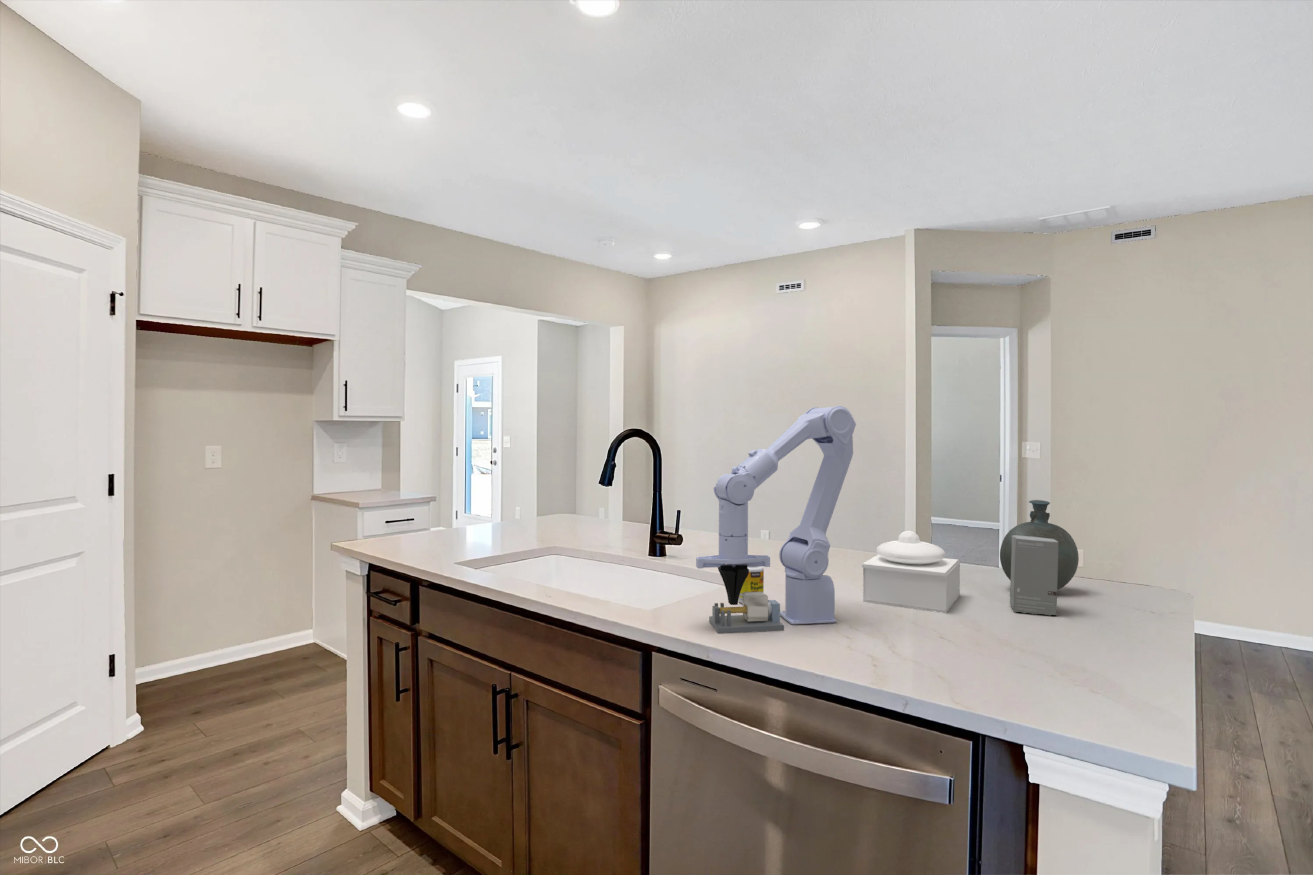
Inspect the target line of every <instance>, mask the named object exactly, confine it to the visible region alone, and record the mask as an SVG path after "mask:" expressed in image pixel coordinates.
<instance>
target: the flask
mask: <svg viewBox="0 0 1313 875" xmlns="http://www.w3.org/2000/svg"><path fill="white" fill-rule="evenodd" d="M1028 503H1029V504H1032V505H1031V506H1032V509H1033V510H1031V511H1030V513H1029V517H1030V521H1027V522H1023V523H1019V524H1017V525H1015V526H1014V527H1013V528H1011V529H1010V530H1009V531H1008V532H1007V533H1006V535H1005V536H1004V538H1003V540H1002V543H1001V545H1000V549H999V557H1000V558H999V561H1000V564H1001V568H1002V571H1003V573H1004V574H1005V576H1006V577H1007V578H1008V580H1009V581H1010V582H1011V554H1012V535H1017V536H1029V537H1039V538H1050V539H1054V540H1056V541H1058V542H1059V544H1058V583H1057V591H1058V590H1060V589H1062V588H1064V587H1065V586H1067V585H1068V584H1069V583H1070V581H1072V579H1073V578H1074V576H1075V574H1076V572H1077V570H1078V566H1079V551H1078V548H1077V543H1076V541H1075V540H1074V538H1073V537H1072V535H1071V534H1070V533H1069V532H1068V531H1067V530H1066V529H1064V528H1063V527H1061V526H1059V525H1057V524H1054V523H1051V522H1049V519H1050V517H1051V516H1050V515H1051V514H1050V512H1047V510H1048V507H1049V505H1050V504H1051V502H1049V501H1047V500H1042V499H1032V500H1028Z"/></svg>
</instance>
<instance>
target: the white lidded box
mask: <svg viewBox="0 0 1313 875" xmlns="http://www.w3.org/2000/svg"><path fill="white" fill-rule="evenodd" d="M875 552H876V555H874V556H873V557H872V558H869V559H868V560H866V561H865V562H862V563H861V568H863V570H862V571H863V574H862V575H863V577H862V580H863V581H862V582H863V584H862V586H863V587H862V588H863V590H862V591H863V592H862V593H863V594H862V595H863V596H862V597H863V599H862V600H863V601H862V602H864V603H868V604H869V603H871V604H875V605H884V606H885V605H886V606H891V607H899V608H904V609H911V608H913V609H912V610H918V609H919V610H920V611H925V610H926V611H927V612H933V611H936V612H935V613H940V612H942V614H947V613H948V612H947V611H948V610H951V609H952V607H953V605H954V604H955V603H956V602H957V600H958V599H959V598H960V597H961V562H960V561H959V559H958V558H957V559H955V558H946V555H947V554H946V551H944V549H943V548H941V547H940V546H939V545H936V544H933V543H931V542H930V543H929V542H927V541H921V539H920V536H919V535H918V534H917V533H916V532H915V531H912V530H906V531H905V530H904V531H902V532H901V533H900V534H899V535H898V538H897V540H891V541H887V542H883V543H881V544H879V545H878V546H877V547H876V551H875ZM959 596H960V597H959ZM958 597H959V598H958ZM957 598H958V599H957ZM955 601H956V602H955ZM954 602H955V603H954ZM951 606H952V607H951ZM919 610H918V611H919ZM926 611H925V612H926Z"/></svg>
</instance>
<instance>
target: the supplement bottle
mask: <svg viewBox="0 0 1313 875" xmlns="http://www.w3.org/2000/svg"><path fill="white" fill-rule="evenodd" d="M747 568H748V569H749V574H748V576H747V578H746V580H745V582H744V584H743V586H742V589H741V592H740V595H739V599H738V603H740V604H742V605H743V592H763V593H764V588H765V587H764V584H765V583H764V577H765V576H764V575H765V574H764V573H765V571H764V566H752V567H747Z"/></svg>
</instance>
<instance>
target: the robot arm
mask: <svg viewBox="0 0 1313 875" xmlns="http://www.w3.org/2000/svg"><path fill="white" fill-rule="evenodd" d="M856 425H857V423H856V421H855V419H854V417H853V415H852V413H851V411H850V410H849V409H848V408H847V407H845V406H843V405H835V406H827V407H816V406H815V407H811V408H809V409H808V410H807V411H805V413H803V414H801V415H799V417H798V418H797V419H796V421H795V422H793V424H792V425H790V427H789V428H787V430H785V431H784V432H783V433H782V434H781V435H780V436H779V437H778V438H777V439H776V440H774V441H773V443H772V444H771V445H769V446H768V447H767V448H765V449H764V448H758V449H751V450H750V451H749V452H748V456H747V457H746V458H745V459H744V460H743V461H742V462H741V463H740V464H739V465H734V466H733V467H732V468H731V473H724V474H722V475H720V477H718V479H717V481H716V484H715V486H714V487H713V493H714V496H715V497H716V499H717V500H718V555H707V556H696V557H695V566H696V568H697V569H699V570H700V569H705V568H717V569H718V572H719V574H720V576H721V579H722V581H723V584H724V587H725V591H726V595H727V602H728V604H729V605H731V606H732V605H733V606H739V605H738V604H739V595H740V592H741V589H742V586H743V584H744V582H745V580H746V578H747V576H748V574H749V569H748V568H747V567H752V566H762V567H763V568H764V567H765V568H771V556H769V555H757V554H756V555H755V554H749V535H748V534H749V501H751V500H752V499H753V497H754V494H755V490H756V489H758V487H759V486H761V485H762V484H763V483H765V481H767V480H768V479H769V478H770V477H771V476H772V475H774V474H775V473H776V472H777V471H778V468H779V462H780V460H782V459H783V458H784V457H786V456H787V455H789V454H790V453H791V452H792V451H794V450H795V449H796V448H797V447H799V446H800V445H801V444H803V443H804V442H806V441H807V440H809V439H812V441H814V442H815V443H816V445H817V446H819V448H820V450H821V452H822V454H823V458H822V460H821V463H820V466H819V469H818V472H817V475H816V477H815V481H814V482H813V486H812V488H811V492H810V495H809V497H808V500H807V503H806V506H805V509H804V512H803V515H802V517H801V520H800V523H799V524H798V526H797V527H795V528H794V529H792V531H790V533H789V536H788V538H787V539H786V541H785V542H784V543H783V544H782V545H781V547H780V549H779V553H778V556H779V558H778V559H779V562H780V563H781V565H782V566H783V567H784V573H785V586H784V587H785V589H784V590H785V603H784V604H785V610H784V611H782V610H780V617H782V618H783V619H785V621H787V622H788V623H789V624H791V625H804V624H805V625H806V624H828V623H837V619H835V611H836V610H835V607H836V605H835V602H836V600H835V598H836V597H835V585H834V581H833V579H832V577H831V576H830V575H828V574H825V572H826V571H827V569H828V567H829V560H830V559H829V551H830V548H831V543H830V541H829V539H828V537H827V532H828V528H829V526H830V523H831V522H830V521H831V519H832V516H833V514H834V510H835V508H836V506H837V501H838V499H839V496H840V493H841V490H842V487H843V485H844V483H845V478H846V476H847V474H848V470H849V468H850V466H851V465H850V464H851V461H852V459H853V455H854V443H853V442H854V440H853V438H854V437H853V435H854V432H855V428H856Z"/></svg>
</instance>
